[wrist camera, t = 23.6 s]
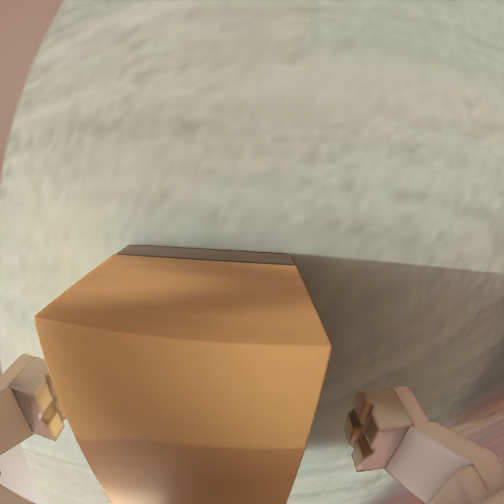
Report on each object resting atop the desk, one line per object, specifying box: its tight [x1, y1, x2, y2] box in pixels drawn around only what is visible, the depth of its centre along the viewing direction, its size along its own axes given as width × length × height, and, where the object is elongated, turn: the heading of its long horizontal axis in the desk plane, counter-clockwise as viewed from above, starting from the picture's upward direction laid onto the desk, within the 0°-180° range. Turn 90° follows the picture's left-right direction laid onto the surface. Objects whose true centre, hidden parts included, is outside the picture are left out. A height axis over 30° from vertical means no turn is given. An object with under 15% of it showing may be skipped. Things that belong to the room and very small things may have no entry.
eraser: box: [34, 245, 332, 504], centre depth 7 cm, size 4×8×4 cm, turn 176°
